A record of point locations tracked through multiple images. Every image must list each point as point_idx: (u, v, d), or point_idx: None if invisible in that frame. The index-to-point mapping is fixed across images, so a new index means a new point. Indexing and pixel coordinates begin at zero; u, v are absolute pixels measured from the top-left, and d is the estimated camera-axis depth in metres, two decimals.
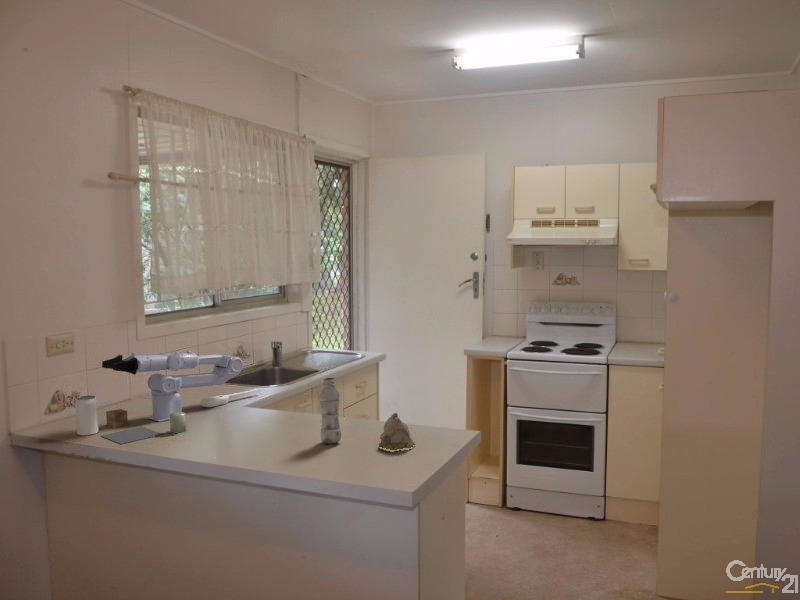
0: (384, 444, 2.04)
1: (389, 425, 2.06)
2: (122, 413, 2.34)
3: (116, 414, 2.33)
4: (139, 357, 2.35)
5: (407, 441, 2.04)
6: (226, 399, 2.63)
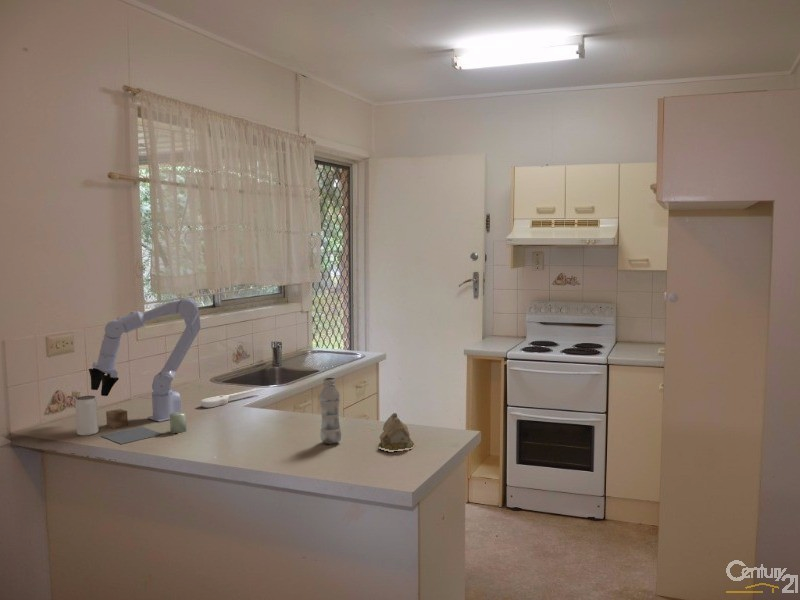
0: (384, 444, 2.04)
1: (389, 425, 2.05)
2: (122, 413, 2.34)
3: (116, 414, 2.33)
4: (101, 364, 2.34)
5: (407, 441, 2.04)
6: (226, 399, 2.63)
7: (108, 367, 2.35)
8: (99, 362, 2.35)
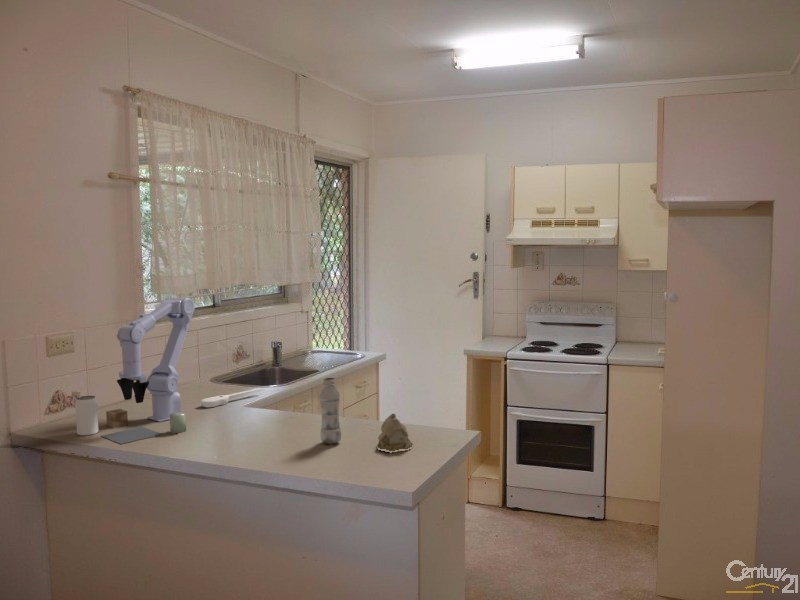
0: (382, 445, 2.03)
1: (388, 425, 2.05)
2: (122, 413, 2.34)
3: (116, 414, 2.33)
4: (127, 372, 2.27)
5: (405, 442, 2.04)
6: (226, 399, 2.63)
7: (135, 373, 2.28)
8: (125, 371, 2.27)
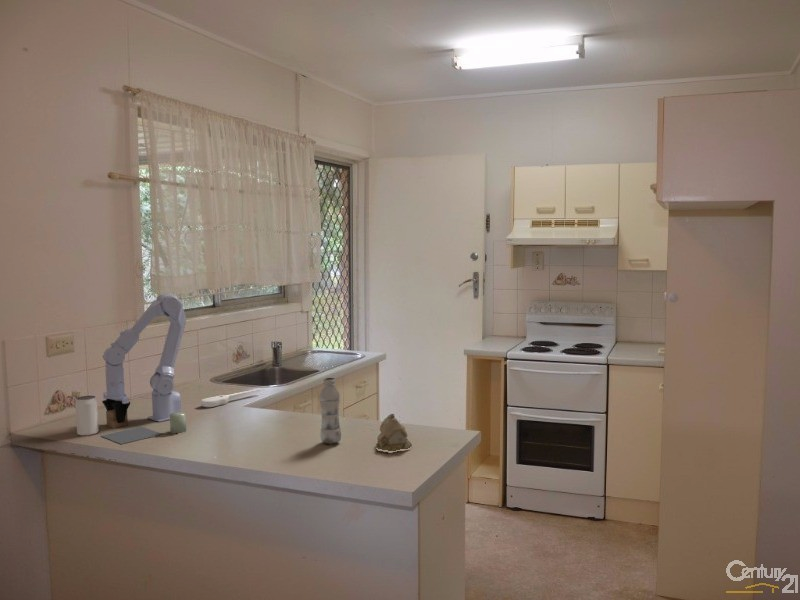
0: (382, 445, 2.03)
1: (387, 426, 2.05)
2: None
3: None
4: (110, 393, 2.32)
5: (405, 442, 2.03)
6: (226, 399, 2.63)
7: (118, 394, 2.33)
8: (108, 392, 2.32)
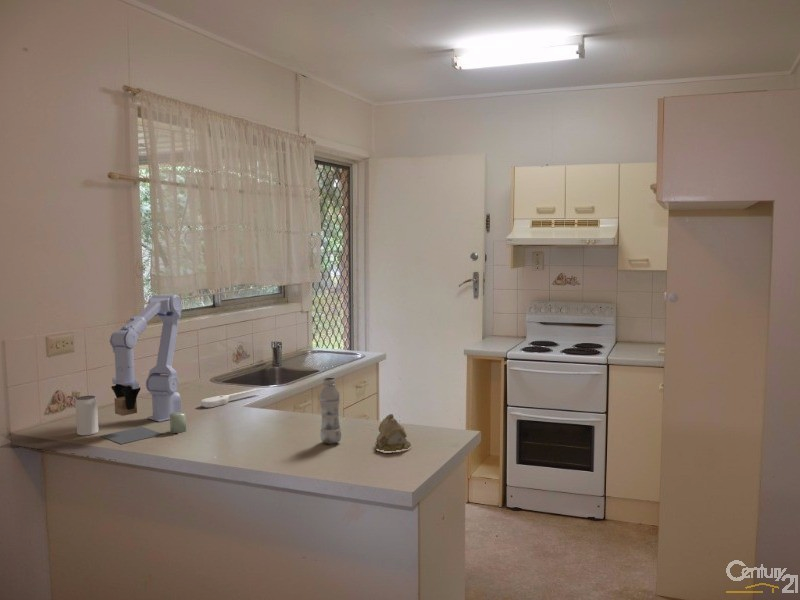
0: (381, 446, 2.02)
1: (386, 426, 2.04)
2: None
3: (125, 401, 2.22)
4: (120, 378, 2.22)
5: (404, 442, 2.03)
6: (226, 399, 2.63)
7: (128, 379, 2.22)
8: (117, 377, 2.22)
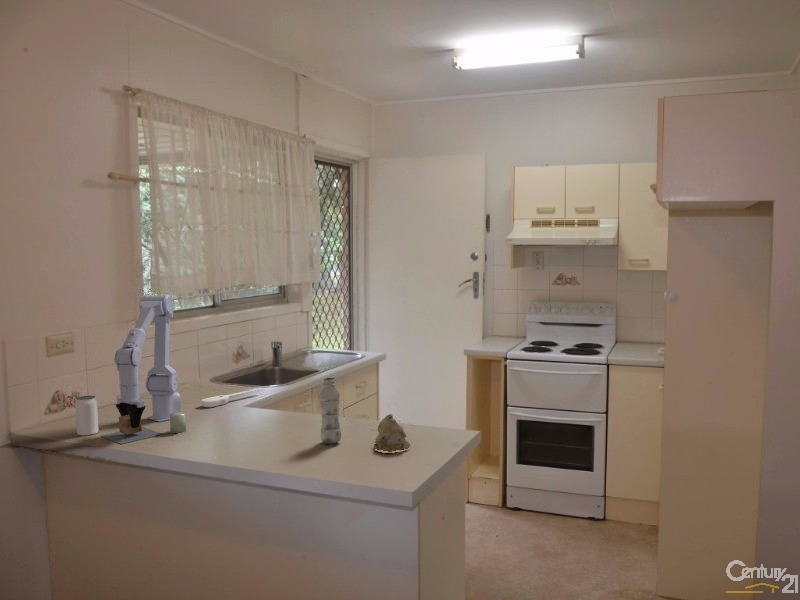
0: (380, 446, 2.02)
1: (385, 426, 2.04)
2: None
3: (129, 419, 2.20)
4: (124, 396, 2.19)
5: (403, 442, 2.03)
6: (226, 399, 2.63)
7: (133, 398, 2.20)
8: (122, 395, 2.19)
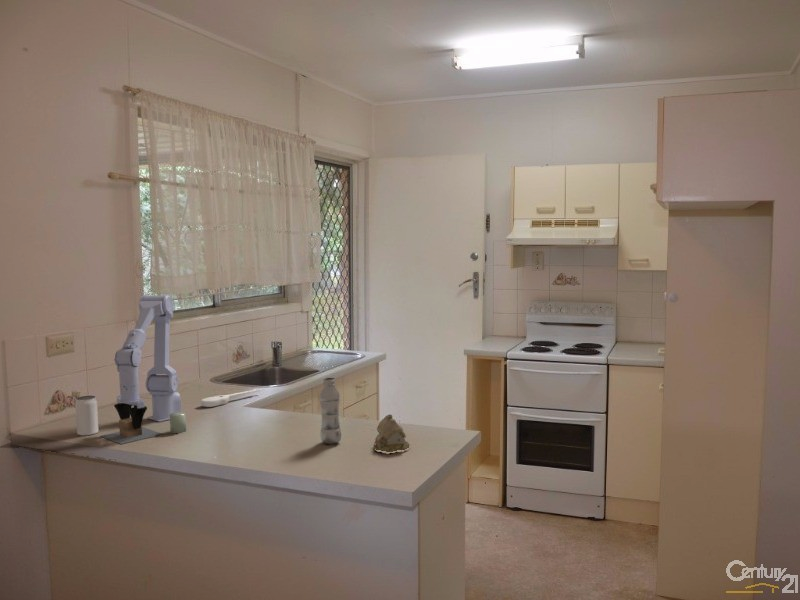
0: (380, 446, 2.02)
1: (385, 426, 2.04)
2: None
3: (130, 423, 2.20)
4: (124, 397, 2.19)
5: (403, 442, 2.03)
6: (226, 399, 2.63)
7: (133, 398, 2.20)
8: (122, 396, 2.19)
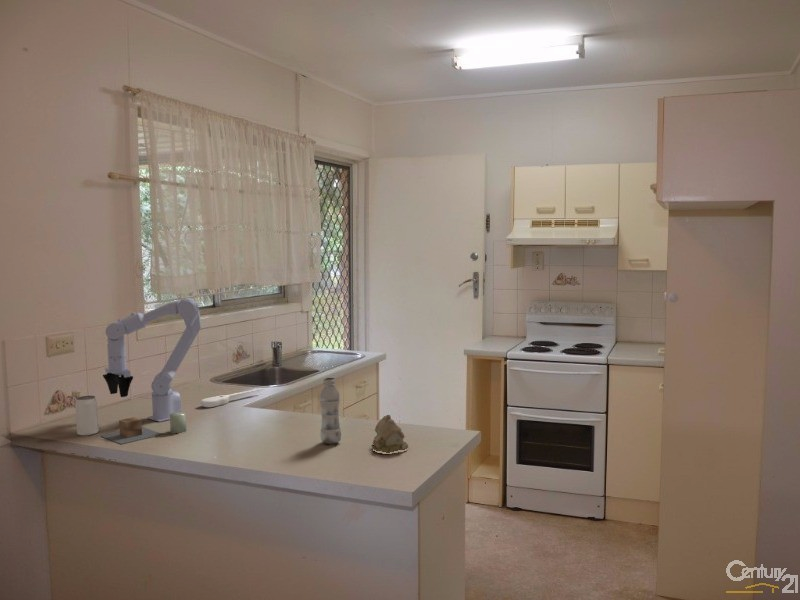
0: (379, 447, 2.01)
1: (383, 427, 2.03)
2: (136, 422, 2.21)
3: (130, 423, 2.20)
4: (112, 367, 2.36)
5: (402, 443, 2.02)
6: (226, 399, 2.63)
7: (120, 368, 2.37)
8: (110, 366, 2.36)
